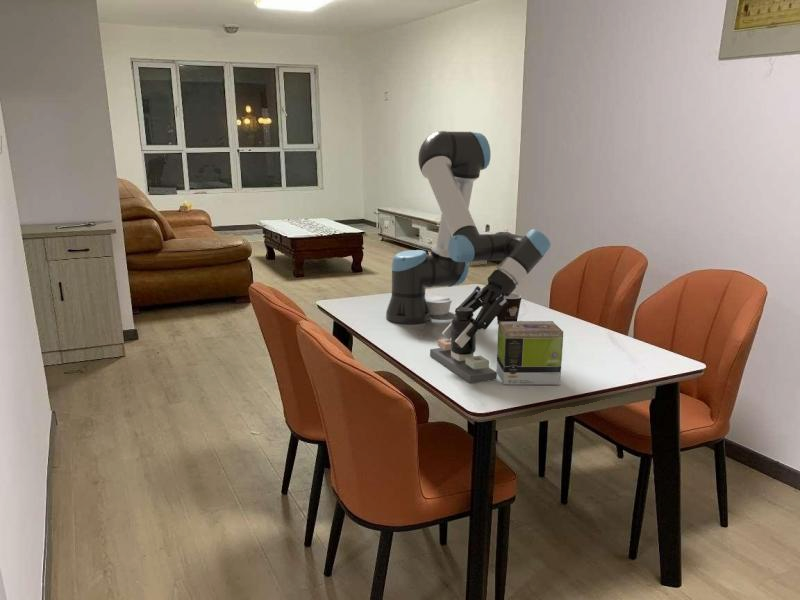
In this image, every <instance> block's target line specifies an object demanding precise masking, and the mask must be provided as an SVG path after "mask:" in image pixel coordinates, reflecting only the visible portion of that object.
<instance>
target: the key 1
mask: <svg viewBox="0 0 800 600" xmlns="http://www.w3.org/2000/svg"><path fill="white" fill-rule="evenodd" d="M437 347H438V348H442V349H443V350H445V351H446V350H451V338H450V339H449V340H448V339H447V338H443V339H442V338H441V339H437Z"/></svg>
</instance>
